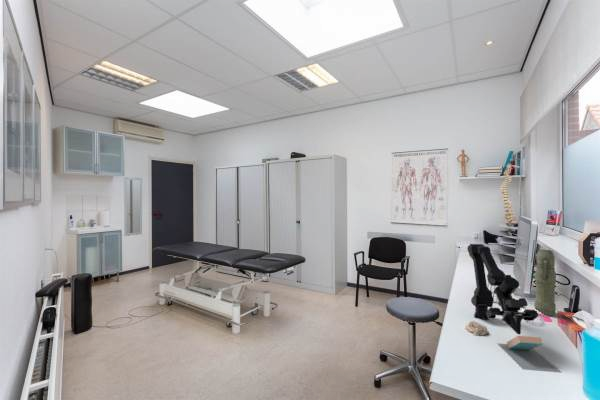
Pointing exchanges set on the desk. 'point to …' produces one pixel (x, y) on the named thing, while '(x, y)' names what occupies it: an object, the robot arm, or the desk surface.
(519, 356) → the mat
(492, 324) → the desk surface
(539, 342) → the tile
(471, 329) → the rock
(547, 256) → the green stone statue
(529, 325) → the desk surface
